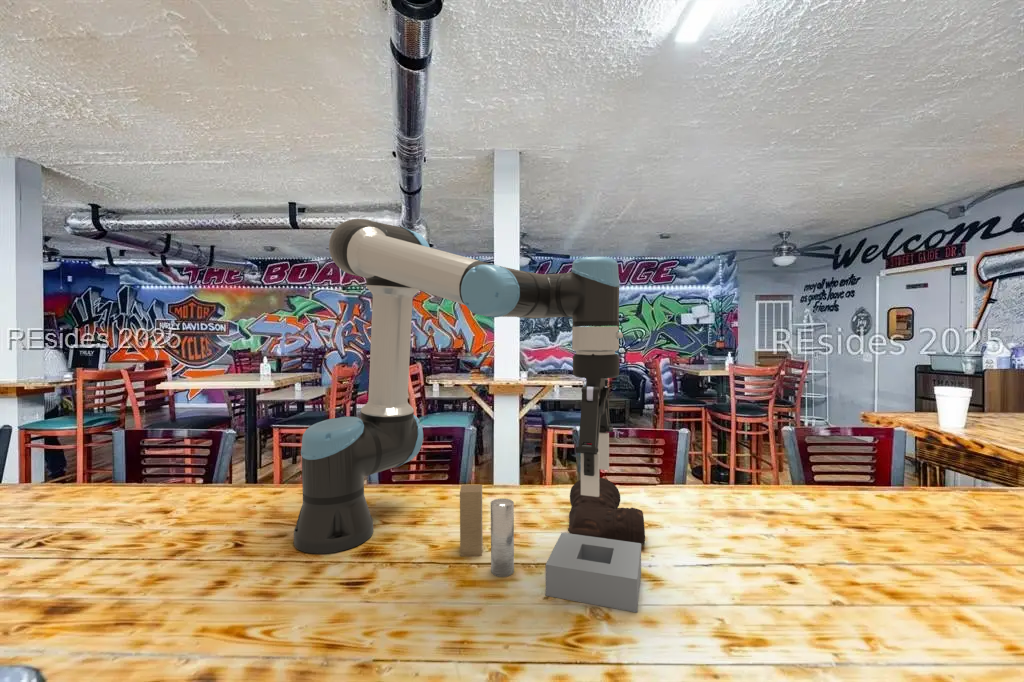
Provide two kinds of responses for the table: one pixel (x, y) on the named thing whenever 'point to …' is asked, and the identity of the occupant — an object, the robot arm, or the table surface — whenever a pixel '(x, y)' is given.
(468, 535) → the square bit
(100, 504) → the table surface
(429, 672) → the table surface
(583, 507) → the pipe
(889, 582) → the table surface
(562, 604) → the table surface
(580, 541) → the socket block
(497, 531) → the cylinder
